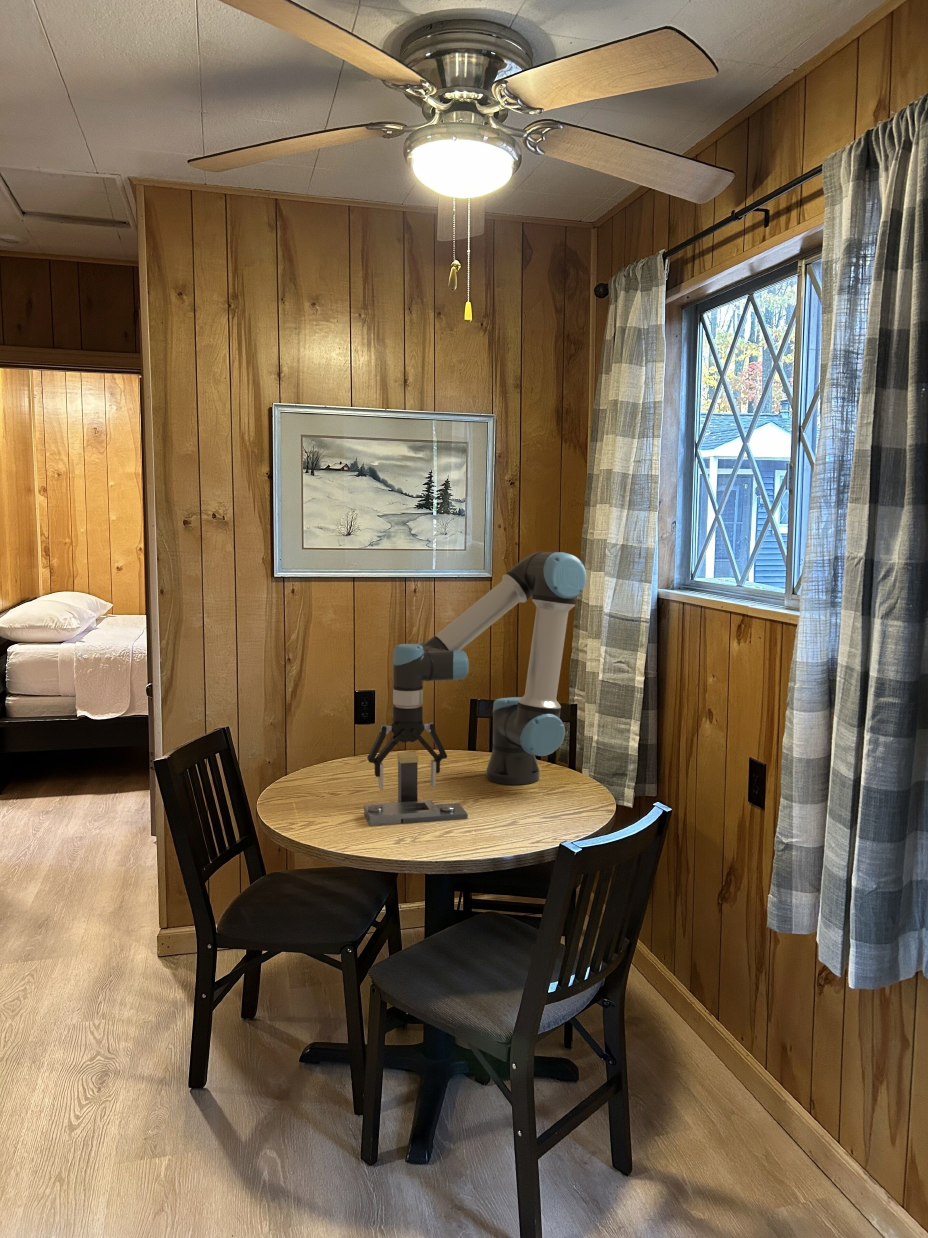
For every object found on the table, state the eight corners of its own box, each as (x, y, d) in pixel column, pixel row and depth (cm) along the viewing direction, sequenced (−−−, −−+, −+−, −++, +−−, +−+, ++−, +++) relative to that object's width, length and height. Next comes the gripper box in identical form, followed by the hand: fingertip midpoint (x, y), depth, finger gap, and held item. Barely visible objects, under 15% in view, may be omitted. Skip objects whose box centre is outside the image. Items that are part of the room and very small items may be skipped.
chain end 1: (431, 809, 229) (431, 798, 228) (439, 820, 220) (439, 808, 220) (364, 814, 224) (364, 802, 224) (369, 826, 216) (369, 814, 215)
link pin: (414, 801, 236) (414, 752, 234) (418, 806, 231) (418, 756, 230) (397, 802, 234) (397, 753, 233) (400, 807, 230) (400, 757, 229)
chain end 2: (458, 807, 230) (458, 800, 230) (467, 818, 222) (467, 811, 222) (396, 812, 226) (396, 805, 226) (403, 823, 218) (403, 816, 218)
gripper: (452, 700, 237) (451, 780, 239) (356, 704, 231) (356, 786, 233) (459, 706, 230) (458, 788, 232) (360, 710, 223) (360, 794, 225)
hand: (407, 787), depth 232 cm, fingers open, 13 cm apart
